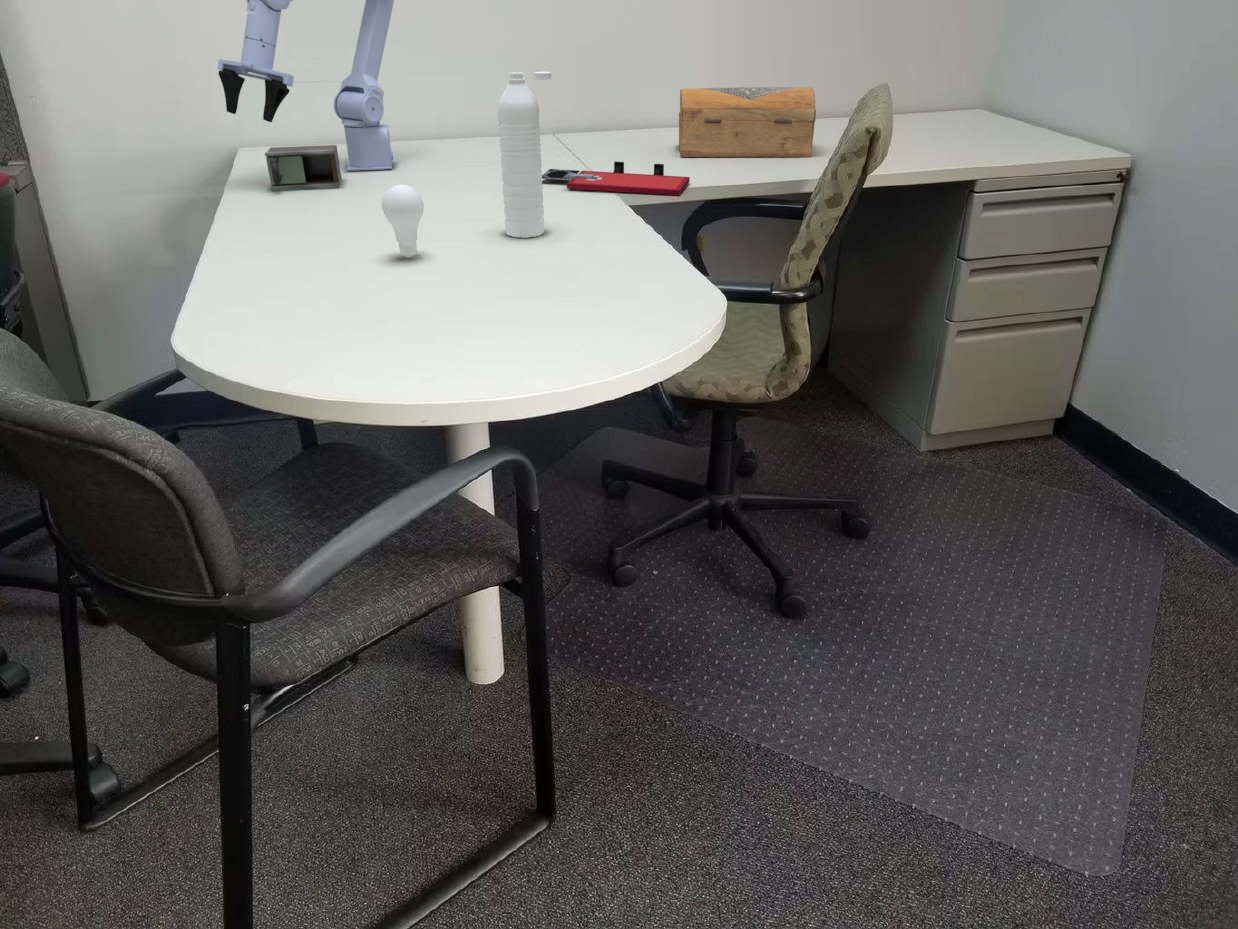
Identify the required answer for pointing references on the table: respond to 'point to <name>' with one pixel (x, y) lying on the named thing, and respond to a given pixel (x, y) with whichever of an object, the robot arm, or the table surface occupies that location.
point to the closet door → (286, 169)
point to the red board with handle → (622, 180)
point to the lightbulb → (404, 216)
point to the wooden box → (747, 122)
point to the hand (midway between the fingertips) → (249, 116)
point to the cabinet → (312, 166)
